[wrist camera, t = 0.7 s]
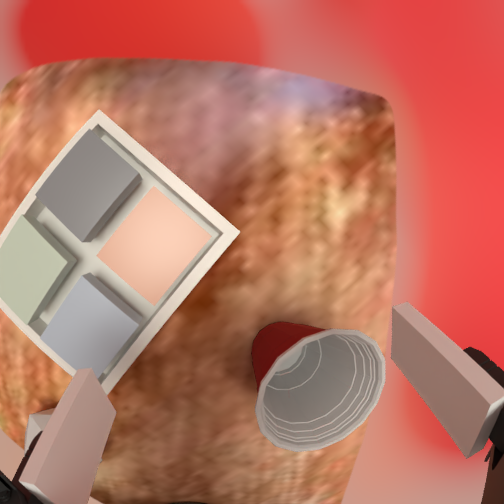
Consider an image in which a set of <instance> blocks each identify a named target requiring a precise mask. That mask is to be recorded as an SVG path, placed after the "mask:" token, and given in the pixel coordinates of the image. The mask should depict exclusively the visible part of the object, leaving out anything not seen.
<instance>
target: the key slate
mask: <svg viewBox="0 0 504 504" xmlns="http://www.w3.org/2000/svg"><path fill="white" fill-rule="evenodd" d="M142 318H143V317H141V316H140V315H139V314H138V313H136V312H135V311H134V310H133V309H132V308H130V307H129V306H128V305H127V304H126V303H124V302H123V301H122V300H121V299H120V298H119V297H117V296H116V295H115V294H114V293H113V292H112V291H111V290H109V289H108V288H107V287H106V286H105V285H104V284H103V283H101V282H100V281H99V280H98V279H97V278H96V277H95V276H94V275H93V274H92V273H87V274H84V275H82V276H81V277H80V278H79V280H78V281H77V283H76V284H75V285H74V287H73V288H72V290H71V291H70V293H69V294H68V296H67V297H66V298H65V300H64V301H63V303H62V304H61V306H60V307H59V309H58V310H57V312H56V313H55V315H54V316H53V318H52V320H51V321H50V323H49V324H48V326H47V327H46V329H45V331H44V332H43V334H42V335H41V337H40V339H41V340H42V341H43V342H44V343H45V344H46V345H47V346H49V347H50V348H51V349H52V350H53V351H54V352H55V353H56V354H57V355H59V356H60V357H61V358H62V359H63V360H64V361H66V362H67V363H68V364H69V365H70V366H71V367H73V368H74V369H75V370H76V371H77V370H78V369H85V368H92V370H93V372H94V373H95V375H96V377H97V379H98V378H99V377H100V375H101V374H102V373H103V371H104V370H105V369H106V368H107V366H108V365H109V364H110V362H111V361H112V360H113V358H114V357H115V356H116V354H117V353H118V352H119V351H120V349H121V348H122V347H123V345H124V344H125V343H126V341H127V340H128V339H129V338H130V336H131V335H132V334H133V333H134V331H135V330H136V329H137V327H138V326H139V325H140V322H141V320H142Z"/></svg>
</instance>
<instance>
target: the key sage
mask: <svg viewBox="0 0 504 504" xmlns="http://www.w3.org/2000/svg"><path fill="white" fill-rule="evenodd" d="M76 261H77V259H76V258H74V257H73V256H72V255H71V254H70V253H69V252H68V251H67V250H66V249H65V248H64V247H63V246H62V245H61V244H60V243H59V242H58V241H57V240H56V239H55V238H54V237H53V236H52V235H51V234H50V233H49V232H48V231H47V230H46V229H45V228H44V227H43V225H42V224H41V223H40V222H39V221H38V220H37V219H36V218H35V217H34V216H29V215H23V214H21V216H20V217H19V219H18V220H17V222H16V223H15V225H14V226H13V228H12V230H11V231H10V233H9V234H8V236H7V238H6V239H5V241H4V243H3V244H2V246H1V248H0V298H1V299H2V300H3V301H4V302H5V303H6V304H7V306H8V307H9V308H10V309H11V310H12V311H13V312H14V313H15V314H16V315H17V316H18V317H19V318H20V319H21V320H22V321H23V322H24V323H25V324H26V325H28V324H30V323H32V322H33V321H35V320H37V319H38V318H39V317H40V315H41V313H42V312H43V310H44V309H45V307H46V306H47V304H48V302H49V301H50V299H51V298H52V296H53V295H54V293H55V292H56V290H57V289H58V287H59V286H60V284H61V283H62V281H63V280H64V278H65V277H66V276H67V274H68V273H69V271H70V270H71V268H72V267H73V266H74V264H75V263H76Z"/></svg>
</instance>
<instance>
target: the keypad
mask: <svg viewBox="0 0 504 504" xmlns="http://www.w3.org/2000/svg"><path fill="white" fill-rule="evenodd" d="M89 129H91V130H92V131H93V132H94V133H95V134H96V135H97V136H98V137H99V138H101V139H102V140H103V141H104V142H105V143H106V144H107V145H108V146H110V147H111V148H112V149H113V150H114V151H115V152H116V153H117V154H119V155H120V156H121V157H122V158H123V159H124V160H125V161H126V162H128V163H129V164H130V165H131V166H132V167H133V168H134V169H135V170H137V171H138V172H139V174H140V175H141V177H142V181H141V182H140V183H139V184H138V185H137V186H136V187H135V188H134V190H133V191H132V192H131V193H130V194H129V195H128V197H127V198H126V199H125V200H124V201H123V203H122V204H121V205H120V206H119V207H118V209H117V210H116V211H115V212H114V213H113V215H112V216H111V217H110V218H109V220H108V221H107V222H106V223H105V225H104V226H103V227H102V228H101V230H100V231H99V232H98V233H97V235H96V236H95V237H94V239H93V240H92V241H91V242H81V241H80V240H79V239H78V238H77V237H76V236H75V235H74V234H73V233H72V232H71V231H70V230H69V229H68V228H67V227H66V226H65V225H64V224H63V223H62V222H61V221H60V220H59V219H58V218H57V217H56V216H55V215H54V214H53V213H52V212H51V211H50V210H49V209H48V208H47V207H46V206H45V205H44V204H43V203H42V202H41V201H40V200H39V199H38V198H37V197H36V196H35V194H36V193H37V191H38V190H39V189H40V187H41V186H42V185H43V183H44V182H45V181H46V179H47V178H48V177H49V175H50V174H51V173H52V172H53V170H54V169H55V168H56V167H57V165H58V164H59V163H60V162H61V160H62V159H63V158H64V157H65V156H66V154H67V153H68V152H69V151H70V150H71V149H72V147H73V146H74V145H75V144H76V143H77V142H78V141H79V139H80V138H81V137H82V136H83V135H84V134H85V133H86V132H87V131H88V130H89ZM153 186H155V187H156V188H157V189H158V190H159V191H160V192H162V193H163V194H164V195H165V196H166V197H167V198H168V199H170V200H171V201H172V202H173V203H174V204H175V205H176V206H178V207H179V208H180V209H181V210H182V211H183V212H185V213H186V214H187V215H188V216H189V217H190V218H191V219H193V220H194V221H195V222H196V223H197V224H198V225H199V226H201V227H202V228H203V229H204V230H205V231H206V232H208V233H209V234H210V235H211V236H212V237H211V238H210V239H209V241H208V242H207V243H206V244H205V245H204V246H203V248H202V249H201V250H200V251H199V252H198V254H197V255H196V256H195V257H194V258H193V260H192V261H191V262H190V263H189V264H188V266H187V267H186V268H185V269H184V270H183V272H182V273H181V274H180V275H179V277H178V278H177V279H176V280H175V281H174V283H173V284H172V285H171V286H170V288H169V289H168V290H167V291H166V292H165V294H164V295H163V296H162V297H161V299H160V300H159V301H158V302H157V304H156V305H155V306H154V305H152V304H151V303H150V302H149V301H147V300H146V299H145V298H144V297H143V296H141V295H140V294H139V293H138V292H137V291H136V290H134V289H133V288H132V287H131V286H130V285H129V284H127V283H126V282H125V281H124V280H123V279H122V278H120V277H119V276H118V275H117V274H116V273H115V272H114V271H113V270H111V269H110V268H109V267H108V266H107V265H106V264H105V263H104V262H103V261H101V260H100V259H99V258H98V257H97V256H96V255H97V254H98V253H99V251H100V250H101V249H102V248H103V246H104V245H105V244H106V242H107V241H108V240H109V239H110V237H111V236H112V235H113V233H114V232H115V231H116V230H117V228H118V227H119V226H120V225H121V224H122V222H123V221H124V220H125V219H126V217H127V216H128V215H129V214H130V213H131V211H132V210H133V209H134V208H135V207H136V206H137V204H138V203H139V202H140V201H141V200H142V199H143V197H144V196H145V195H146V194H147V193H148V192H149V190H150V189H151V188H152V187H153ZM21 214H23V215H29V216H34V217H35V218H36V219H37V220H38V221H39V222H40V223H41V224H42V225H43V227H44V228H45V229H46V230H47V231H48V232H49V233H50V234H51V235H52V236H53V237H54V238H55V239H56V240H57V241H58V242H59V243H60V244H61V245H62V246H63V247H64V248H65V249H66V250H67V251H68V252H69V253H70V254H71V255H72V256H73V257H74V258H76V259H77V261H76V263H75V264H74V266H73V267H72V268H71V270H70V271H69V273H68V274H67V276H66V277H65V278H64V280H63V281H62V283H61V284H60V286H59V287H58V289H57V290H56V292H55V293H54V295H53V296H52V298H51V299H50V301H49V302H48V304H47V306H46V307H45V309H44V310H43V312H42V313H41V315H40V317H39V318H38V319H37V320H35V321H33V322H32V323H30V324H28V325H26V324H25V323H24V322H23V321H22V320H21V319H20V318H19V317H18V316H17V315H16V314H15V313H14V312H13V311H12V310H11V309H10V308H9V307H8V306H7V304H6V303H5V302H4V301H3V300H2V299H1V298H0V308H1V309H2V310H3V312H4V313H5V314H6V315H7V316H8V317H9V318H10V319H11V320H12V321H13V322H14V323H15V324H16V325H17V326H18V327H19V328H20V329H21V330H22V331H23V332H24V333H25V334H26V335H27V336H28V337H29V338H30V339H31V340H32V341H33V342H34V343H35V344H36V345H37V346H38V347H39V348H40V349H41V350H42V351H43V352H44V353H46V354H47V355H48V356H49V357H50V358H51V359H52V360H53V361H55V362H56V363H57V364H58V365H59V366H60V367H61V368H63V369H64V370H65V371H66V372H67V373H69V374H70V375H71V376H72V377H74V375H75V374H76V372H77V371H76V370H75V369H74V368H73V367H71V366H70V365H69V364H68V363H67V362H66V361H64V360H63V359H62V358H61V357H60V356H59V355H57V354H56V353H55V352H54V351H53V350H52V349H51V348H50V347H49V346H47V345H46V344H45V343H44V342H43V341H42V340H41V339H40V337H41V335H42V334H43V332H44V331H45V329H46V327H47V326H48V324H49V323H50V321H51V320H52V318H53V316H54V315H55V313H56V312H57V310H58V309H59V307H60V306H61V304H62V303H63V301H64V300H65V298H66V297H67V296H68V294H69V293H70V291H71V290H72V288H73V287H74V285H75V284H76V283H77V281H78V280H79V278H80V277H81V276H82V275H84V274H87V273H92V274H93V275H94V276H95V277H96V278H97V279H98V280H99V281H100V282H101V283H103V284H104V285H105V286H106V287H107V288H108V289H109V290H111V291H112V292H113V293H114V294H115V295H116V296H117V297H119V298H120V299H121V300H122V301H123V302H124V303H126V304H127V305H128V306H129V307H130V308H132V309H133V310H134V311H135V312H136V313H138V314H139V315H140V316H141V317H143V318H142V320H141V322H140V325H139V326H138V327H137V329H136V330H135V331H134V333H133V334H132V335H131V336H130V338H129V339H128V340H127V341H126V343H125V344H124V345H123V347H122V348H121V349H120V351H119V352H118V353H117V354H116V356H115V357H114V358H113V360H112V361H111V362H110V364H109V365H108V366H107V368H106V369H105V370H104V371H103V373H102V374H101V375H100V377H99V378H98V381H99V383H100V385H101V386H102V388H103V390H104V392H105V394H106V395H108V394H109V392H110V391H111V390H112V388H113V387H114V386H115V385H116V383H117V382H118V381H119V380H120V378H121V377H122V376H123V374H124V373H125V372H126V371H127V369H128V368H129V367H130V366H131V364H132V363H133V362H134V361H135V359H136V358H137V357H138V356H139V354H140V353H141V352H142V351H143V349H144V348H145V347H146V346H147V344H148V343H149V342H150V341H151V339H152V338H153V337H154V336H155V335H156V333H157V332H158V331H159V330H160V328H161V327H162V326H163V325H164V323H165V322H166V321H167V320H168V318H169V317H170V316H171V315H172V314H173V312H174V311H175V310H176V309H177V307H178V306H179V305H180V304H181V303H182V301H183V300H184V299H185V298H186V296H187V295H188V294H189V293H190V292H191V290H192V289H193V288H194V287H195V286H196V284H197V283H198V282H199V281H200V280H201V278H202V277H203V276H204V275H205V274H206V272H207V271H208V270H209V269H210V267H211V266H212V265H213V264H214V263H215V262H216V260H217V259H218V258H219V257H220V256H221V254H222V253H223V252H224V251H225V250H226V248H227V247H228V246H229V245H230V244H231V242H232V241H233V240H234V239H235V238H236V236H237V235H238V234H239V233H240V231H239V230H237V229H236V228H235V227H234V226H233V225H232V224H231V223H229V222H228V221H227V220H226V219H225V218H224V217H223V216H222V215H220V214H219V213H218V212H217V211H216V210H215V209H213V208H212V207H211V206H210V205H209V204H208V203H207V202H205V201H204V200H203V199H202V198H201V197H200V196H199V195H197V194H196V193H195V192H194V191H193V190H192V189H191V188H189V187H188V186H187V185H186V184H185V183H184V182H183V181H181V180H180V179H179V178H178V177H177V176H176V175H174V174H173V173H172V172H171V171H170V170H169V169H168V168H166V167H165V166H164V165H163V164H162V163H161V162H159V161H158V160H157V159H156V158H155V157H154V156H153V155H151V154H150V153H149V152H148V151H147V150H146V149H144V148H143V147H142V146H141V145H140V144H139V143H138V142H136V141H135V140H134V139H133V138H132V137H131V136H129V135H128V134H127V133H126V132H125V131H124V130H122V129H121V128H120V127H119V126H118V125H117V124H115V123H114V122H113V121H112V120H111V119H110V118H108V117H107V116H106V115H105V114H104V113H103V112H101V111H100V110H98V111H97V112H96V113H95V114H94V115H93V116H92V117H91V118H90V119H89V120H88V121H87V122H86V123H85V124H84V125H83V127H82V128H81V129H80V130H79V131H78V132H77V133H76V134H75V135H74V136H73V138H72V139H71V140H70V141H69V142H68V143H67V144H66V146H65V147H64V148H63V149H62V150H61V152H60V153H59V154H58V155H57V156H56V158H55V159H54V160H53V161H52V163H51V164H50V165H49V166H48V168H47V169H46V170H45V171H44V173H43V174H42V175H41V177H40V178H39V179H38V181H37V182H36V183H35V185H34V186H33V187H32V189H31V190H30V191H29V193H28V194H27V196H26V197H25V199H24V200H23V201H22V203H21V204H20V206H19V207H18V209H17V210H16V212H15V213H14V215H13V216H12V218H11V219H10V221H9V223H8V224H7V226H6V227H5V229H4V231H3V232H2V234H1V236H0V248H1V246H2V244H3V243H4V241H5V239H6V238H7V236H8V234H9V233H10V231H11V230H12V228H13V226H14V225H15V223H16V222H17V220H18V219H19V217H20V216H21Z"/></svg>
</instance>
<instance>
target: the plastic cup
mask: <svg viewBox="0 0 504 504" xmlns="http://www.w3.org/2000/svg"><path fill="white" fill-rule="evenodd" d="M251 354H252V358H253V368H254V372H255V377H256V382H257V391H258V395H257V400H256V405H255V413H256V417H257V420H258V424H259V428H260V432H261V433H262V434H263V435H264V436H265V437H266V438H267V439H268V440H269V441H270V442H272V443H273V444H274V445H275V446H276V447H280V448H283V449H287V450H291V451H295V452H301V451H310V450H319V449H322V448H324V447H327V446H329V445H331V444H334V443H336V442H338V441H340V440H342V439H344V438H345V437H346V436H348V435H349V434H350V433H351V432H353V431H354V430H355V429H356V428H358V427H359V426H360V425H361V424H362V423H363V422H364V421H365V420H366V418H367V417H368V415H369V414H370V413H371V411H372V410H373V408H374V407H375V406H376V404H377V403H378V400H379V397H380V395H381V392H382V389H383V386H384V383H385V358H384V356H383V354H382V352H381V350H380V348H379V346H378V344H377V342H376V341H375V340H373V339H371V338H370V337H368V336H367V335H365V334H363V333H362V332H360V331H359V330H348V329H327V330H325V329H321V328H316V327H312V326H307V325H303V324H294V323H288V322H277V323H274V324H270V325H267V326H266V327H265V328H264V329H262V330H261V331H260V332H259V333H258V335H257V336H256V338H255V339H254V342H253V347H252V352H251Z"/></svg>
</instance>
